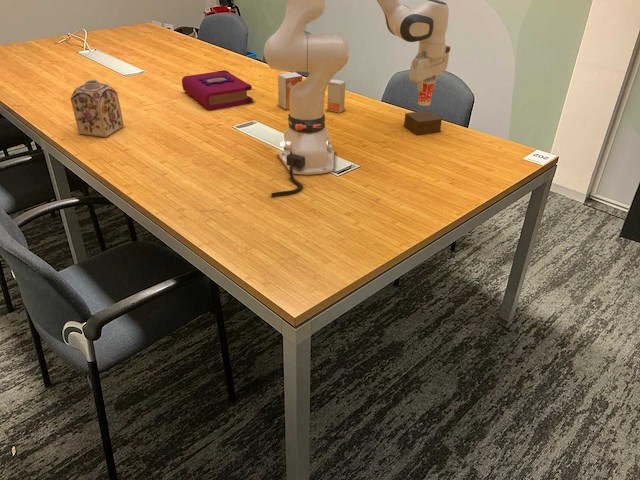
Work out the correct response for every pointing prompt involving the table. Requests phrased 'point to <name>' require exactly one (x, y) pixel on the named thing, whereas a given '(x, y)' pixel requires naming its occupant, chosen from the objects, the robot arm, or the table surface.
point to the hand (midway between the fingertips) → (426, 88)
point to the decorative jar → (96, 109)
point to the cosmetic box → (336, 95)
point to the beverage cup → (426, 92)
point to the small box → (286, 87)
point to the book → (217, 89)
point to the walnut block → (422, 122)
